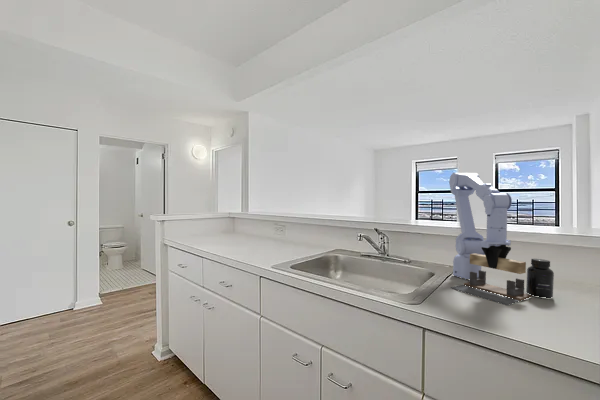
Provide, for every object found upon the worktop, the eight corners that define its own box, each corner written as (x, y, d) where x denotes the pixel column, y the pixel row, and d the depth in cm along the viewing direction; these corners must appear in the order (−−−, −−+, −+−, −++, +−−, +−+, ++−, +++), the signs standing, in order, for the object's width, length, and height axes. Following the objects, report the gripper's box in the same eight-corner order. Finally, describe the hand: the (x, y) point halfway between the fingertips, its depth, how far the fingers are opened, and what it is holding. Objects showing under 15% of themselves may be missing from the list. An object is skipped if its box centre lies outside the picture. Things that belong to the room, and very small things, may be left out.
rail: (469, 263, 104) (469, 254, 104) (475, 262, 106) (475, 253, 106) (520, 274, 90) (520, 263, 90) (525, 272, 91) (525, 262, 91)
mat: (450, 288, 100) (450, 287, 100) (462, 285, 104) (462, 284, 104) (507, 305, 85) (507, 304, 85) (519, 301, 88) (519, 300, 88)
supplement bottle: (543, 300, 90) (543, 262, 90) (521, 293, 96) (521, 258, 96) (558, 298, 92) (559, 261, 92) (536, 292, 98) (536, 257, 98)
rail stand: (463, 285, 104) (463, 270, 104) (474, 283, 107) (475, 268, 107) (520, 301, 88) (520, 283, 88) (531, 298, 91) (531, 281, 91)
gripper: (497, 229, 91) (496, 272, 91) (520, 228, 98) (520, 267, 98) (475, 227, 97) (474, 267, 97) (498, 226, 104) (497, 263, 104)
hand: (495, 267), depth 98 cm, fingers closed on rail, 3 cm apart
